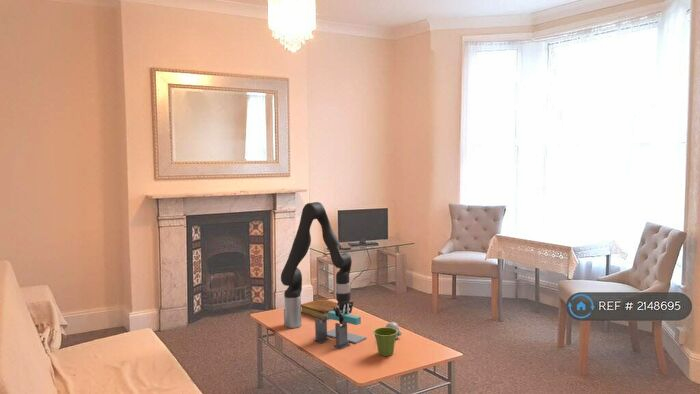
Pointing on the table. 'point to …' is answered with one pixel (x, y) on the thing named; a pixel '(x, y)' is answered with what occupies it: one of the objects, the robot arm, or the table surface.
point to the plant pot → (385, 340)
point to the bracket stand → (340, 330)
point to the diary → (318, 308)
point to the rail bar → (345, 318)
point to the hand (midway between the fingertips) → (344, 322)
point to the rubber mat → (350, 337)
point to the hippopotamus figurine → (395, 326)
